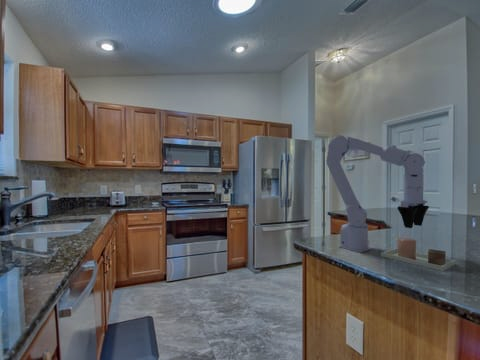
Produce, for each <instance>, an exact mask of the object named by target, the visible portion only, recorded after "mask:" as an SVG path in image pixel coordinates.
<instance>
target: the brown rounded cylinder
mask: <svg viewBox="0 0 480 360" xmlns="http://www.w3.org/2000/svg"><path fill="white" fill-rule="evenodd" d="M397 248H398V256H400V257H404V258H409V259H413V260H416V252H417V241H416V240H415V239H414V238H410V237H409V238H408V237H407V238H406V237H398V238H397Z"/></svg>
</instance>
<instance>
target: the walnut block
mask: <svg viewBox="0 0 480 360" xmlns="http://www.w3.org/2000/svg"><path fill="white" fill-rule="evenodd" d="M427 255H428V263H431V264H435V265H439V266H442V265H444V264H445V258H446V251H445V250H440V249H432V248H431V249H430V248H429V249H428V251H427Z"/></svg>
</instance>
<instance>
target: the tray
mask: <svg viewBox="0 0 480 360" xmlns="http://www.w3.org/2000/svg"><path fill="white" fill-rule="evenodd" d="M380 257H381V258H386V259H391V260H394V261H398V262H403V263H407V264H411V265H416V266H419V267H424V268H428V269H432V270H437V271H441V272H445V271H447V270H448V269H449V268H452V267H454V266H455V265H456V260H455V259H451V258H447V257H445V264H444V265H442V266H439V265H435V264H431V263H428V253H427V254H426V253H421V252H417V251H416V260H413V259H409V258H404V257H400V256H398V247H396V248H395V247H394V248H391V249H389V250H385V251H382V252H380Z"/></svg>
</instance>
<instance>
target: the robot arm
mask: <svg viewBox="0 0 480 360" xmlns="http://www.w3.org/2000/svg"><path fill="white" fill-rule="evenodd" d="M327 147H328V148H327V149H328V150H327V153H326V154H327V155H326V165H327V167H328V169H329V172H330V174H331V176H332V179H333V180H334V183H335V186H336V187H337V189H338V192H339V194H340V196H341V199H342V201H343V203H344V205H345V210H346V212H347V216H346V217H347V223H344V224H342V225H341V228H340V230H339V234H340V237H339V238H340V239H339V241H340V242H339V244H340V245H338V247H339V248H341V249H342V248H343V249H346V250H351V251H355V252H358V253H363V252H367V251H371V249H372V247H371V246H369V225H368V223H366V220H367V219H368V212H367V211H366V210H365V208H363V207H362V206H361V204H360V202H359V200H358V199H357V197H356V195H355V191H354V190H353V187H352V185H351V184H350V181H349V179H348V177H347V175H346V172H345V171H344V169H343V166H342V164H341V162H342V160H343V157H344V156H345V155H346V154H347V153H348V151H351V152H353V151H358V150H359V151H363V152H365V153H369V154H372V155H376V156H379V157H380V159H381V160H380V161H382V162H386V163H389V164H392V165H394V166H395V165H396V166H398V167H402V166H403V168H404V173H403V199H402V200H401V201H400V206H397V210H398V212H399V214H400V216H401V219H402V222H403V226H404V228H406V229H413V227H414V226H419V227H420V226H422V225H423V222H424V218H425V215H426V214H427V211H428V210H429V208H430V206H429V205H426V204H428V200H426V199H424V174H423V173H424V169H423V167H424V166H425V163H426V161H425V158H424V157H423V156H422V154H420V153H415V152H414V153H411V152H412V151H411V150H409V149H408V150H404V149H401V148H399V147H398V148H397V145H394V144H393V145H392V146H391V145H386V146H384V147H381V146H379V145H376V144H374V143H370V142H367V141H365V140H362V139H359V138H356V137H355V138H354V137H350V136H346V137H345V136H344V135H341V134H338V135H335V136H334V137H332V138H331V140H330V141H329V144H328V146H327Z"/></svg>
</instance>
